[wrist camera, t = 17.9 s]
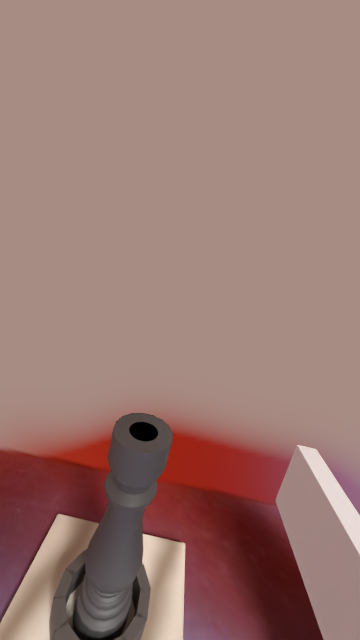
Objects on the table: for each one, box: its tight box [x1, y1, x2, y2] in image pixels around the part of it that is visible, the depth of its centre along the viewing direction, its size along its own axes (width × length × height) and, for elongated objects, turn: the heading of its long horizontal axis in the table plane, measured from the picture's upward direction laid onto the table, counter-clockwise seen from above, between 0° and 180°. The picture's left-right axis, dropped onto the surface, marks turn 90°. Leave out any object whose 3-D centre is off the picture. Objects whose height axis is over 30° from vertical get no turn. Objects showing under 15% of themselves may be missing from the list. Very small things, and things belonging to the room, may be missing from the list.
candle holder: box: [72, 413, 173, 640], centre depth 28 cm, size 6×6×25 cm
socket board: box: [0, 514, 185, 640], centre depth 30 cm, size 20×20×5 cm
